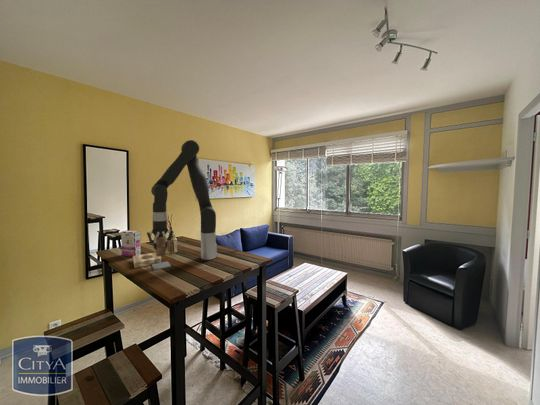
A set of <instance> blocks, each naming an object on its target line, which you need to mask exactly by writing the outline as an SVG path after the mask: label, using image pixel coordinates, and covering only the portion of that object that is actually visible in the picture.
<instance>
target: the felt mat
mask: <svg viewBox="0 0 540 405" xmlns="http://www.w3.org/2000/svg"><path fill="white" fill-rule="evenodd" d="M151 267H152V269H153V270H154V271H159V270H162V269H163V270H164V269H167V268H172V265H171V263H170V262H169V261H163V262H161V263H156V264H152V265H151Z"/></svg>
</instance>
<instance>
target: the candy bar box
mask: <svg viewBox="0 0 540 405" xmlns="http://www.w3.org/2000/svg"><path fill="white" fill-rule="evenodd" d="M120 238H121V240H120V241H121V242H120V243H121V246H120V247H121V256H122V257H129V258H130V257H131V258H133V256H136V255H142V249H141V248H142V247H141V246H142V245H141V243H142V242H141V231H140V230H127V229H126V230H122V231H120Z"/></svg>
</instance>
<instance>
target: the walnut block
mask: <svg viewBox="0 0 540 405" xmlns="http://www.w3.org/2000/svg"><path fill="white" fill-rule="evenodd" d="M156 245H157V249H156V250H155V252H156V256H157V257H158V256H160V257H165V256H166V253H167V251H166V249H167V247H165V237H156Z"/></svg>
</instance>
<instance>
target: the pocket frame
mask: <svg viewBox="0 0 540 405" xmlns="http://www.w3.org/2000/svg"><path fill="white" fill-rule="evenodd" d="M162 259H163V258H162V256H158V257H157V256H156V251H155V252H150V253H143V254H142V253H141V255H136V256H133V257H132V261H133V262H132V263H133V265H134V266H133V267H134V269H136V268H137V269H138V268H143V267H149V266H152V264H156V263H161V262H162Z"/></svg>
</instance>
